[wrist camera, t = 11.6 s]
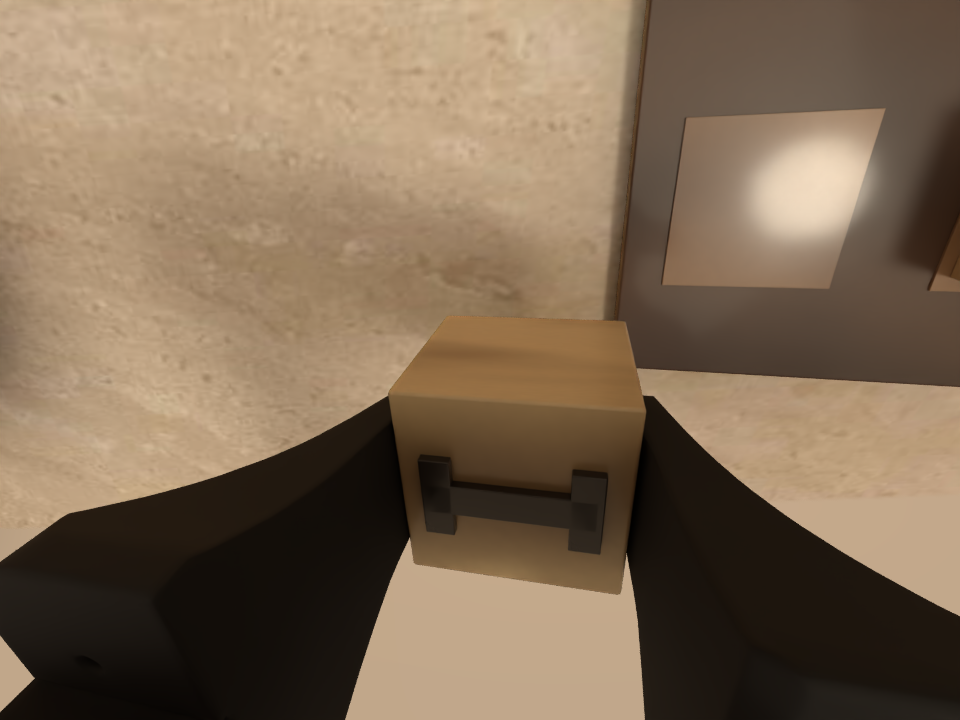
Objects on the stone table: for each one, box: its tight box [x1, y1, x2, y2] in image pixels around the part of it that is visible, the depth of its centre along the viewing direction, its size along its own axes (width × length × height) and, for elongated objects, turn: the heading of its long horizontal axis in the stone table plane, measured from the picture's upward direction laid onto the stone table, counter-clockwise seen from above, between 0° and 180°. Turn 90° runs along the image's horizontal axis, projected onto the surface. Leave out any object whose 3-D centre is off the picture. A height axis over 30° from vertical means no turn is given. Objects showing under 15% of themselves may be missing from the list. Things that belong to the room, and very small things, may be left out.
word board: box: [614, 0, 960, 387], centre depth 14 cm, size 12×16×1 cm
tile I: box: [388, 316, 646, 595], centre depth 10 cm, size 4×4×4 cm
